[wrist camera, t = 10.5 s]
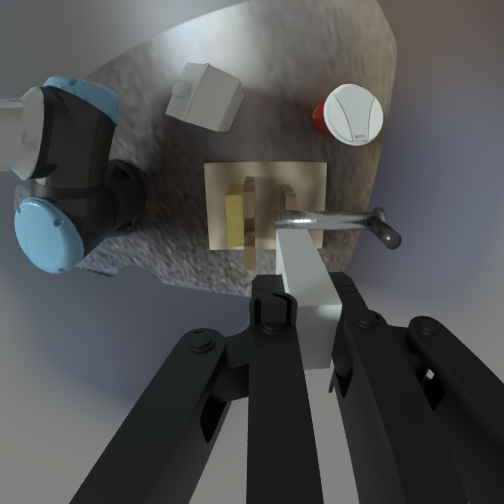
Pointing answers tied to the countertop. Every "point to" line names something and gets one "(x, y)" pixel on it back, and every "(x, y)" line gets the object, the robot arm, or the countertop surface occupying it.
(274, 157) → the countertop surface
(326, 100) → the coffee cup
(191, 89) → the milk carton
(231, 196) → the spacer
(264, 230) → the wooden stand with blocks
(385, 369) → the robot arm
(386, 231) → the silver bent bar
